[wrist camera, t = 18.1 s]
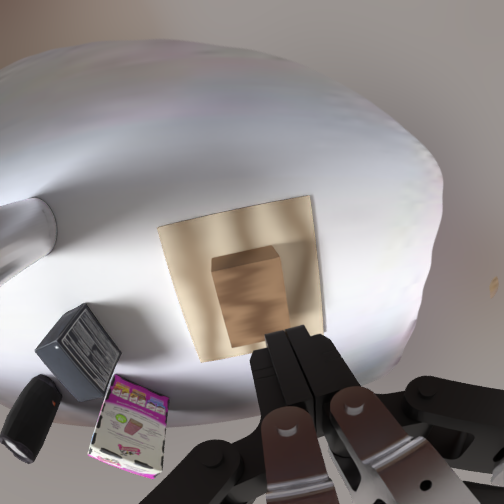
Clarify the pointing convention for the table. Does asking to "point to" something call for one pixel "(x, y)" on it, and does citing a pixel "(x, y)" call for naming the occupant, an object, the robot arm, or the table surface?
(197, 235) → the beige cloth mat
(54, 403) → the portable speaker
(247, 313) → the walnut block
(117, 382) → the candy bar box
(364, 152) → the table surface
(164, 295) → the table surface
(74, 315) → the small box
